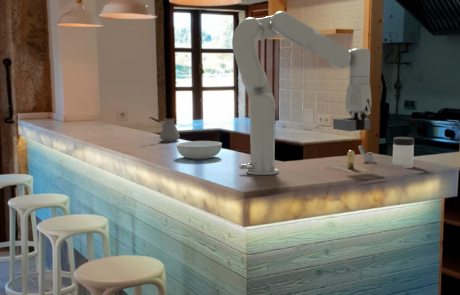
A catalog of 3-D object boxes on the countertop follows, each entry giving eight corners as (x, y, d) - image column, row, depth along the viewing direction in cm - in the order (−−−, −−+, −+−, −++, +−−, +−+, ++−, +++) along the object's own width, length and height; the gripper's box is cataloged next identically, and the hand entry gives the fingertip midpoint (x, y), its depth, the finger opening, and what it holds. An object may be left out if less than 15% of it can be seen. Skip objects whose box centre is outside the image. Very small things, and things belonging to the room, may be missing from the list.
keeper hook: (350, 169, 215) (350, 150, 214) (345, 168, 218) (346, 150, 217) (355, 168, 217) (356, 150, 216) (351, 167, 219) (351, 149, 218)
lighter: (374, 164, 233) (375, 146, 231) (373, 165, 231) (373, 146, 230) (359, 163, 237) (359, 144, 236) (357, 163, 236) (358, 145, 235)
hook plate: (348, 176, 208) (348, 173, 208) (325, 170, 220) (325, 167, 220) (376, 172, 215) (376, 169, 214) (352, 167, 227) (352, 164, 227)
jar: (393, 164, 233) (394, 136, 232) (413, 165, 230) (414, 137, 229) (391, 167, 225) (392, 138, 224) (412, 169, 222) (413, 139, 221)
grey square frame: (349, 131, 208) (350, 120, 208) (333, 128, 217) (333, 118, 217) (370, 129, 213) (370, 119, 212) (352, 127, 222) (352, 117, 221)
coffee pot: (169, 139, 325) (169, 114, 322) (184, 140, 317) (183, 114, 315) (142, 143, 308) (142, 116, 306) (157, 144, 301) (156, 117, 299)
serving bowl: (201, 153, 269) (201, 139, 268) (231, 158, 254) (231, 143, 253) (167, 158, 255) (167, 143, 254) (197, 163, 240) (197, 147, 239)
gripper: (338, 81, 214) (337, 128, 217) (366, 81, 200) (364, 132, 203) (353, 80, 218) (352, 127, 220) (381, 81, 204) (380, 130, 206)
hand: (358, 129), depth 211 cm, fingers closed on grey square frame, 2 cm apart
